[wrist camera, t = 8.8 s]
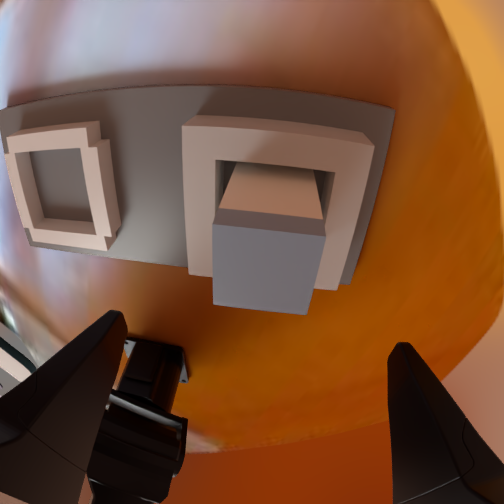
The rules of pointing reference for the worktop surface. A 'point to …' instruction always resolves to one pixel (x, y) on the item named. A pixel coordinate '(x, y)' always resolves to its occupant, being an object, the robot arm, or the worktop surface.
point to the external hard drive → (15, 362)
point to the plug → (267, 239)
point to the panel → (163, 156)
